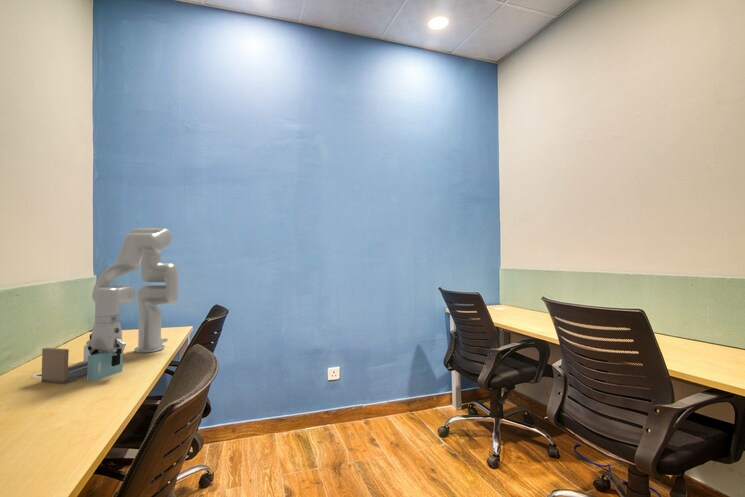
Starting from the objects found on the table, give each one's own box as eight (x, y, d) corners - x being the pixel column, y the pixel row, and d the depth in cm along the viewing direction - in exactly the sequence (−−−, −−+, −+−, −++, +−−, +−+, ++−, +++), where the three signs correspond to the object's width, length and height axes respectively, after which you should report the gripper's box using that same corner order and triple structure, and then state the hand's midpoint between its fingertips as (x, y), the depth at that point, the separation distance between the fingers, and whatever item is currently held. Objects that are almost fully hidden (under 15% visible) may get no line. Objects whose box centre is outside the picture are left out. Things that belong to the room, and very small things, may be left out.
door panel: (115, 370, 147) (116, 348, 147) (122, 371, 146) (123, 348, 146) (86, 380, 135) (87, 356, 135) (94, 381, 134) (94, 356, 135)
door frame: (98, 364, 155) (98, 335, 155) (117, 365, 153) (118, 337, 153) (41, 381, 133) (42, 348, 133) (63, 383, 131) (64, 350, 131)
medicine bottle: (96, 362, 157) (97, 334, 157) (83, 361, 158) (83, 334, 158) (111, 358, 164) (112, 331, 164) (98, 357, 165) (99, 330, 165)
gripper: (133, 319, 143) (132, 363, 142) (97, 317, 146) (96, 360, 146) (116, 322, 136) (115, 368, 135) (78, 320, 139) (77, 365, 138)
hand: (105, 364), depth 140 cm, fingers open, 9 cm apart
